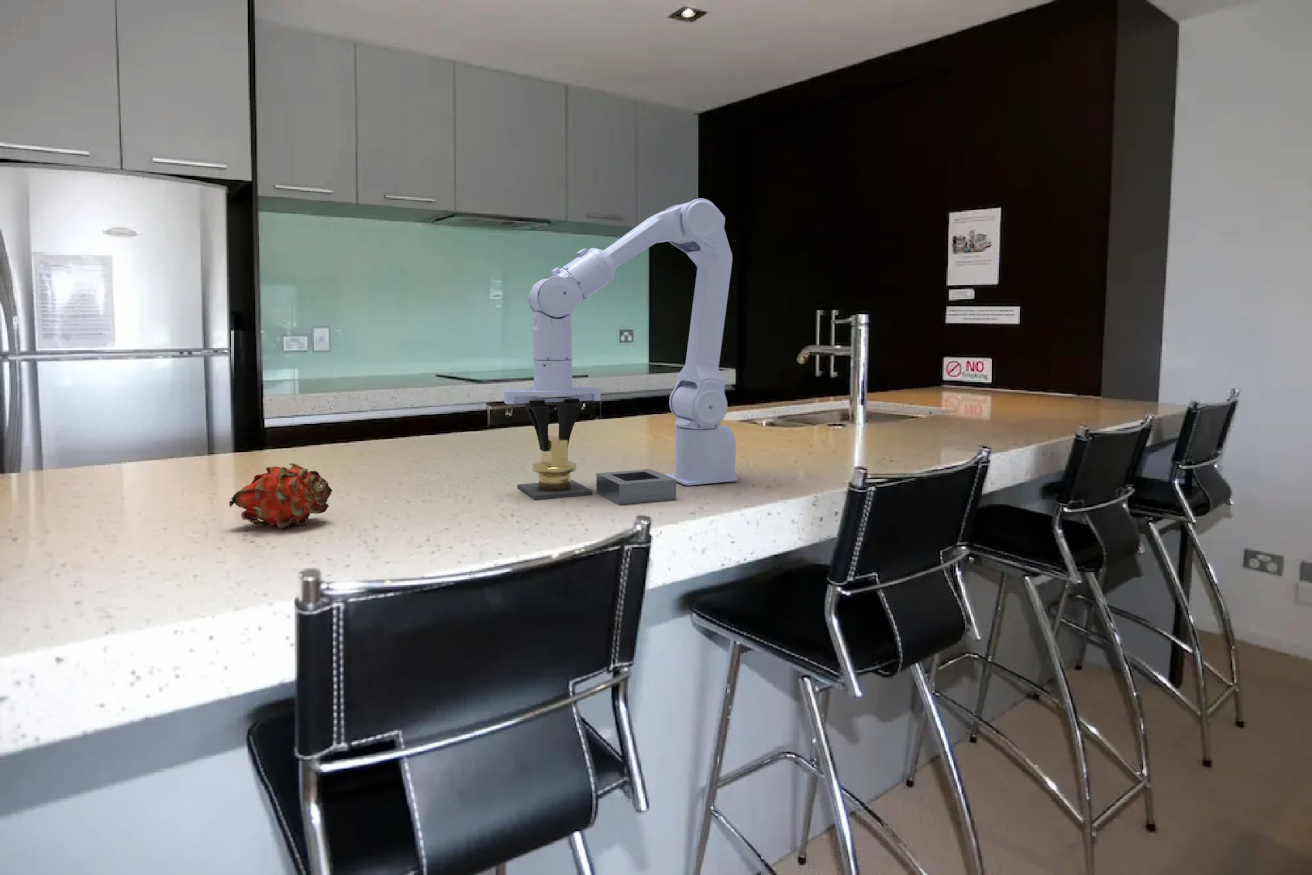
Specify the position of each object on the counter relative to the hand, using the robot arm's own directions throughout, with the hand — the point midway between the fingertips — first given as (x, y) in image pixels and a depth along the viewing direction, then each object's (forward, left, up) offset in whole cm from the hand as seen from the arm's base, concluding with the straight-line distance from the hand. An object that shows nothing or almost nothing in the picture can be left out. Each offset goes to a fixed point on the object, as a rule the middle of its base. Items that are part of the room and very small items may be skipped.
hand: (553, 449), depth 128 cm
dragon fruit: (+38, +6, -7) cm, 39 cm away
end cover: (0, 0, -6) cm, 6 cm away
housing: (-10, +8, -6) cm, 14 cm away
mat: (0, 0, -6) cm, 6 cm away
